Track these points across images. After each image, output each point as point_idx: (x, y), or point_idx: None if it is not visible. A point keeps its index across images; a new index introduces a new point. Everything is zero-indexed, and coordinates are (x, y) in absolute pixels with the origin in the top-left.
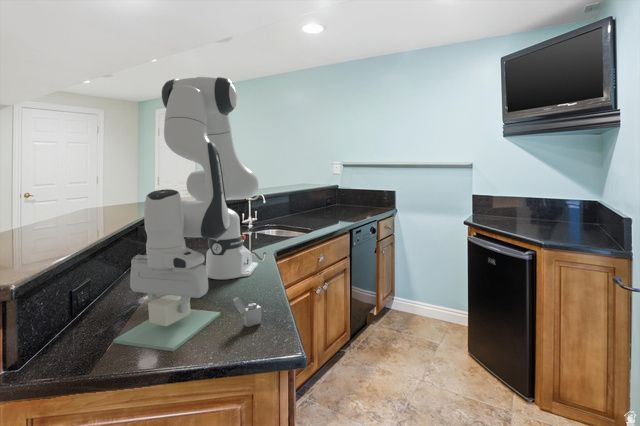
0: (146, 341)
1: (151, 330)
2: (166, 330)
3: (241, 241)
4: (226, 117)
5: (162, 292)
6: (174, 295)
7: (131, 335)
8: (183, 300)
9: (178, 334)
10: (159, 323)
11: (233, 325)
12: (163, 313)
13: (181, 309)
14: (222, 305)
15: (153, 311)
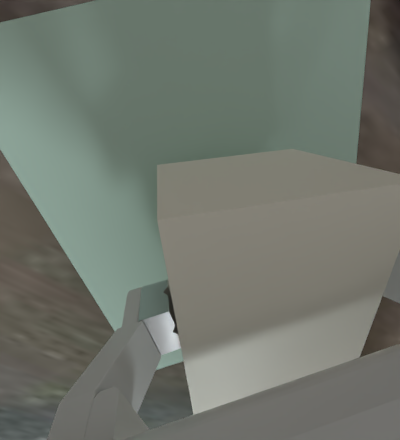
0: (173, 24)
1: (258, 143)
2: None
3: None
4: None
5: (386, 390)
6: (175, 422)
7: (313, 43)
8: (90, 392)
9: (99, 183)
10: (214, 159)
11: (20, 351)
12: (183, 185)
13: (138, 303)
14: None
15: (298, 169)
